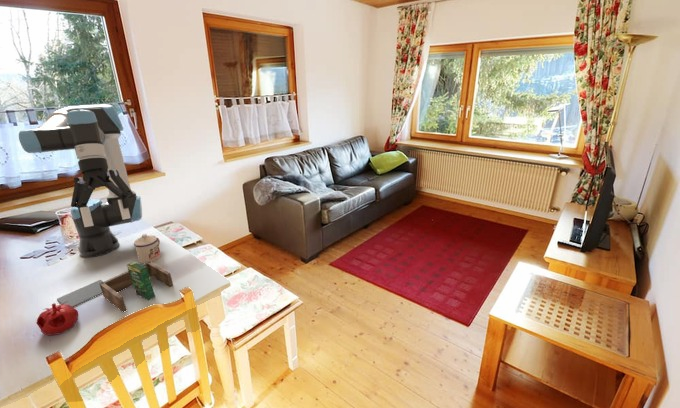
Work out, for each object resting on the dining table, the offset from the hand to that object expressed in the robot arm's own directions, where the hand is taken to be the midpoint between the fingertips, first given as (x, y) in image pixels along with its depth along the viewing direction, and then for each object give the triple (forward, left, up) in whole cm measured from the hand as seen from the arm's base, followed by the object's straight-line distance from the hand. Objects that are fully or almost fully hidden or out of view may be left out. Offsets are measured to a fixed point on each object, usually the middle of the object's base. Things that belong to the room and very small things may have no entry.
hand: (107, 222), depth 106 cm
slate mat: (-17, -9, -30) cm, 36 cm away
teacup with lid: (-23, +19, -31) cm, 43 cm away
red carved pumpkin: (-4, -20, -31) cm, 37 cm away
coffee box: (+3, +3, -31) cm, 31 cm away
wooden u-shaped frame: (-2, +3, -30) cm, 31 cm away
